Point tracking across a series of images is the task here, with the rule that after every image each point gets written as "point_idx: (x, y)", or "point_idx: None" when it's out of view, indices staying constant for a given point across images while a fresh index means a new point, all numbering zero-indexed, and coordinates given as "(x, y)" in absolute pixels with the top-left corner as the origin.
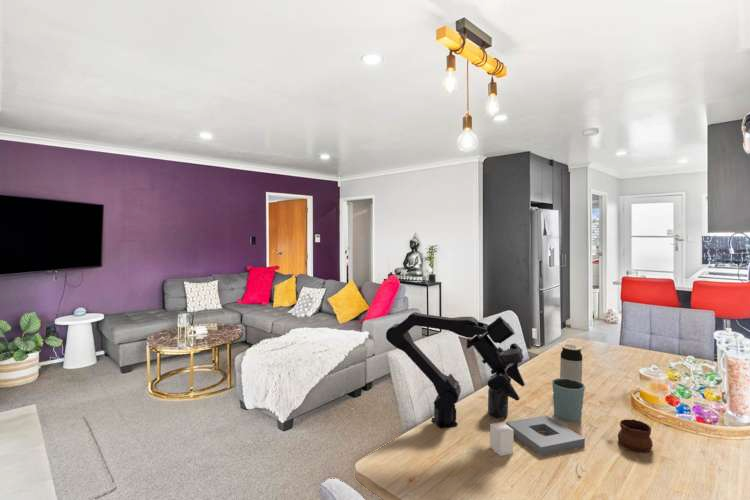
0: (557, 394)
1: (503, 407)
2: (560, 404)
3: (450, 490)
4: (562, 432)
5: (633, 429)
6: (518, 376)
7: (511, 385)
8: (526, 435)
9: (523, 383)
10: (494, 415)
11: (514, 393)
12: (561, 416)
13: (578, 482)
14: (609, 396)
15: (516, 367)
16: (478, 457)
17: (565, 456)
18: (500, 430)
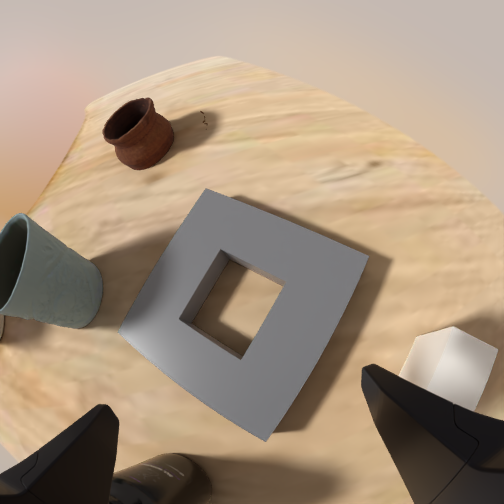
0: (42, 293)
1: (176, 475)
2: (67, 291)
3: None
4: (207, 246)
5: (149, 107)
6: (71, 466)
7: (468, 447)
8: (325, 333)
9: (101, 415)
10: (210, 489)
11: (427, 397)
12: (93, 298)
13: (397, 159)
14: None
15: (5, 500)
16: (494, 386)
17: (308, 215)
18: (490, 358)
